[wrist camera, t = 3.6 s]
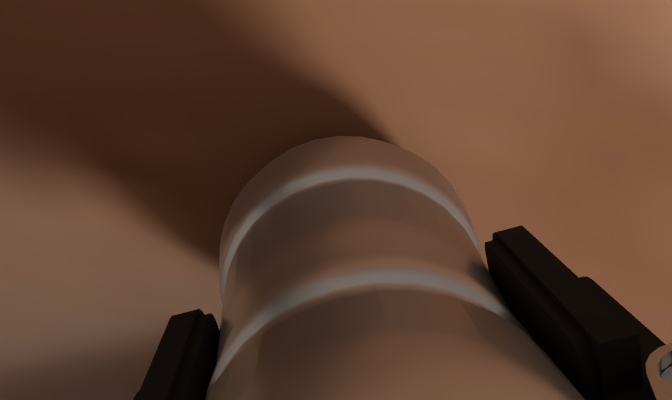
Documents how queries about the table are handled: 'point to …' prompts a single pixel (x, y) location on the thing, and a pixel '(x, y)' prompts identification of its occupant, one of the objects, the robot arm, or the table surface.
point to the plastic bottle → (365, 288)
